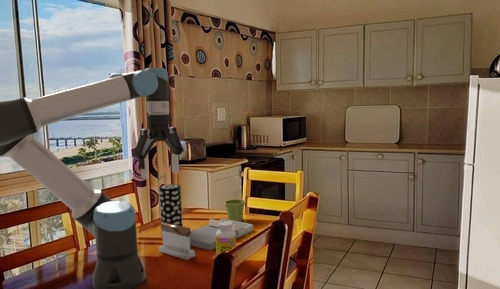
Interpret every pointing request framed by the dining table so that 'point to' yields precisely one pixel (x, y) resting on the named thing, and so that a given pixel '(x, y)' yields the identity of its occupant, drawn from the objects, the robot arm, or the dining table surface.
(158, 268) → the dining table surface
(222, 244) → the supplement bottle
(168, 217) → the spotted tube
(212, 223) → the tile left
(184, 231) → the scraper
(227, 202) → the plant pot
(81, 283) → the dining table surface
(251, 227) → the tray
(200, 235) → the board
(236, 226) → the tile right
